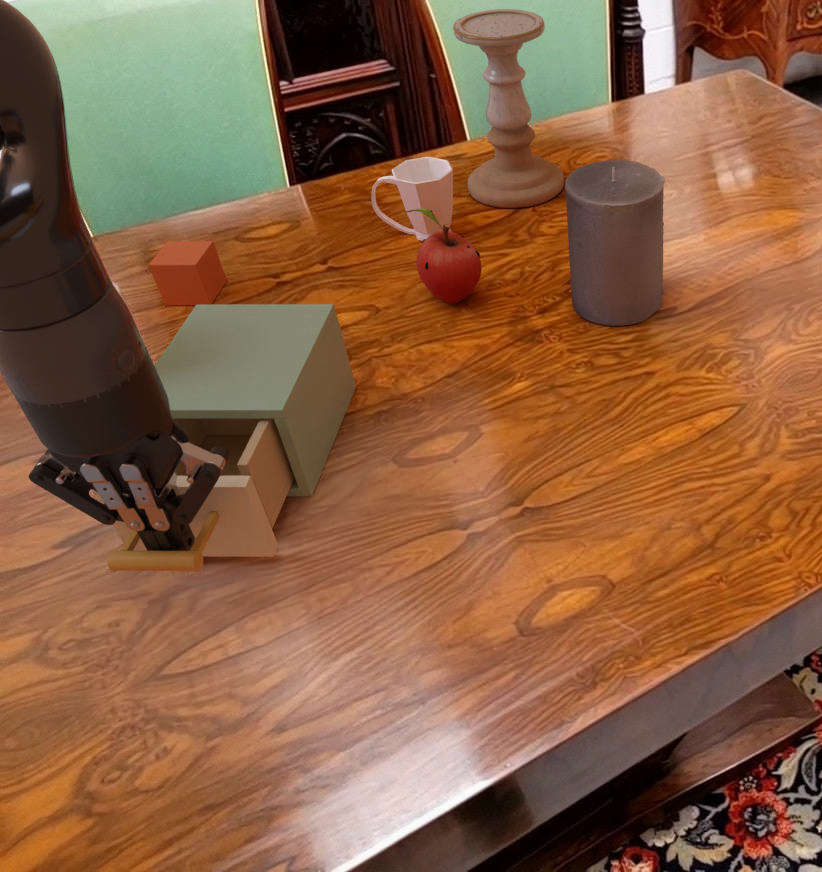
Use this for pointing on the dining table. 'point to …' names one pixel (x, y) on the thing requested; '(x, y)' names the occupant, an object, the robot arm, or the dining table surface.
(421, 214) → the cup
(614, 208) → the pillar candle
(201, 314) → the cabinet
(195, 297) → the block
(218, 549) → the drawer
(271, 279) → the dining table surface
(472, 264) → the apple
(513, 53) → the candle holder
